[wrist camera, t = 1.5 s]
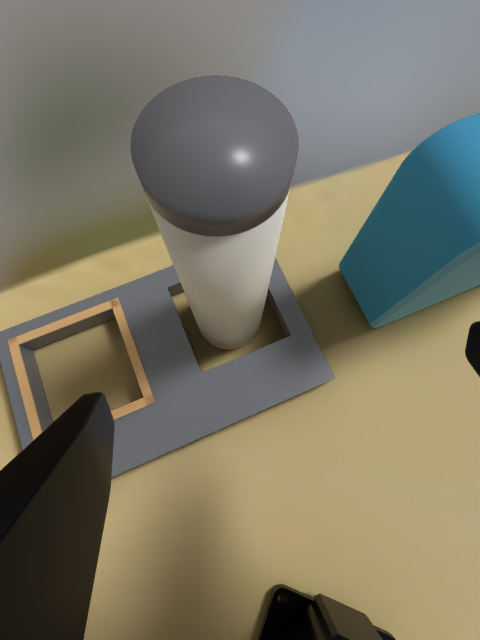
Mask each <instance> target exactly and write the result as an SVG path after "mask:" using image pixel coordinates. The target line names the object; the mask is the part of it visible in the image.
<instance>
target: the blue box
mask: <svg viewBox="0 0 480 640" xmlns="http://www.w3.org/2000/svg"><path fill="white" fill-rule="evenodd" d="M339 268H340V270H341V272H342V274H343V276H344V278H345V280H346V281H347V283H348V285H349V287H350V289H351V291H352V293H353V294H354V296H355V298H356V300H357V302H358V304H359V306H360V308H361V309H362V311H363V313H364V315H365V317H366V319H367V321H368V323H369V324H370V326H371V327H373V328H378V327H381V326H384V325H386V324H389V323H391V322H394V321H396V320H398V319H401V318H403V317H405V316H408V315H410V314H413V313H415V312H417V311H420V310H422V309H424V308H427V307H429V306H431V305H434V304H436V303H439V302H441V301H443V300H446V299H448V298H450V297H453V296H455V295H457V294H460V293H462V292H465V291H467V290H469V289H472V288H474V287H476V286H479V285H480V113H478V114H475V115H472V116H470V117H467V118H464V119H461V120H459V121H456V122H454V123H451V124H449V125H447V126H446V127H444V128H442V129H440V130H439V131H437V132H435V133H434V134H432V135H431V136H430V137H428V138H427V139H426V140H424V141H423V142H422V143H421V144H419V145H418V146H417V147H416V148H415V149H414V150H413V151H412V152H411V153H410V154H409V155H408V156H407V157H406V159H405V160H404V161H403V162H402V164H401V165H400V167H399V169H398V170H397V172H396V173H395V175H394V177H393V178H392V180H391V181H390V183H389V185H388V186H387V188H386V190H385V191H384V193H383V194H382V196H381V198H380V199H379V201H378V202H377V204H376V206H375V207H374V209H373V210H372V212H371V214H370V215H369V217H368V218H367V220H366V222H365V223H364V225H363V227H362V228H361V230H360V231H359V233H358V235H357V236H356V238H355V239H354V241H353V243H352V244H351V246H350V247H349V249H348V251H347V252H346V254H345V255H344V257H343V259H342V260H341V262H340V265H339Z"/></svg>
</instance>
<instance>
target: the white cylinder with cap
mask: <svg viewBox="0 0 480 640" xmlns="http://www.w3.org/2000/svg"><path fill="white" fill-rule="evenodd" d="M297 154H298V134H297V129H296V126H295V123H294V120H293V118H292V116H291V114H290V113H289V111H288V110H287V108H286V107H285V106H284V105H283V104H282V102H281V101H280V100H279V99H278V98H277V97H275V96H274V95H273V94H272V93H270V92H269V91H267V90H266V89H264V88H263V87H261V86H259V85H257V84H255V83H252V82H250V81H247V80H243V79H239V78H236V77H229V76H216V75H215V76H203V77H196V78H192V79H188V80H185V81H182V82H179V83H177V84H174V85H172V86H171V87H169V88H167V89H165V90H164V91H162V92H161V93H159V94H158V95H157V96H155V97H154V98H153V99H152V100H151V101H150V102H149V103H148V104H147V106H146V107H145V108H144V109H143V110H142V112H141V113H140V115H139V117H138V119H137V121H136V123H135V125H134V128H133V131H132V137H131V155H132V161H133V164H134V167H135V169H136V172H137V175H138V177H139V179H140V182H141V185H142V187H143V189H144V192H145V194H146V197H147V200H148V202H149V205H150V207H151V209H152V212H153V215H154V217H155V220H156V222H157V225H158V227H159V230H160V232H161V235H162V237H163V240H164V242H165V245H166V247H167V250H168V252H169V255H170V257H171V260H172V262H173V265H174V267H175V270H176V272H177V275H178V277H179V280H180V282H181V285H182V287H183V290H184V292H185V295H186V297H187V300H188V302H189V305H190V307H191V310H192V312H193V315H194V317H195V320H196V322H197V325H198V328H199V330H200V332H201V334H202V336H203V337H204V338H205V339H206V340H207V341H208V342H209V343H210V344H212V345H214V346H216V347H218V348H221V349H236V348H240V347H242V346H244V345H246V344H248V343H249V342H250V341H251V340H252V339H253V338H254V337H255V336H256V334H257V333H258V330H259V328H260V324H261V320H262V315H263V310H264V306H265V301H266V297H267V292H268V288H269V283H270V278H271V274H272V269H273V265H274V260H275V256H276V251H277V247H278V242H279V237H280V233H281V228H282V224H283V219H284V215H285V210H286V205H287V201H288V196H289V192H290V187H291V183H292V178H293V174H294V169H295V164H296V160H297Z"/></svg>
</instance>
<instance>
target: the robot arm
mask: <svg viewBox="0 0 480 640" xmlns="http://www.w3.org/2000/svg"><path fill="white" fill-rule="evenodd" d="M465 354H466V357H467V360H468V361H469V363H470V364H471V366H472V367H473V368H474V370H475V371H476V373H477V374H478V375H479V377H480V321H478V322H474V323H473V324H472V325H471V326H470V329H469V334H468V339H467V344H466V349H465ZM114 429H115V426H114V419H113V416H112V413H111V411H110V408H109V405H108V403H107V400H106V398H105V396H104V394H103V393H102V392H94V393H89V394H84V395H83V396H81V397H80V398H79V399H78V400H77V401H76V402H75V403H74V404H73V405H71V406H70V407H69V408H68V409H67V410H66V411H65V412H64V413H63V414H62V415H61V416H59V417H58V418H57V419H56V420H55V421H54V422H53V423H52V424H51V425H50V426H49V427H47V428H46V429H45V430H44V431H43V432H42V433H41V434H40V435H39V436H38V437H37V438H36V439H34V440H33V441H32V442H31V443H30V444H29V445H28V446H27V447H26V448H25V449H24V450H22V451H21V452H20V453H19V454H18V455H17V456H16V457H15V458H14V459H13V460H12V461H10V462H9V463H8V464H7V465H6V466H5V467H4V468H3V469H2V470H1V471H0V640H83V639H84V633H85V628H86V622H87V617H88V611H89V606H90V600H91V595H92V589H93V584H94V578H95V573H96V567H97V562H98V556H99V551H100V545H101V540H102V534H103V529H104V523H105V518H106V512H107V507H108V501H109V495H110V489H111V477H112V461H113V445H114ZM281 593H285V594H286V595H287V598H286V600H285V601H279V600H278V596H279V594H281ZM257 640H395V638H394V637H393V635H392V634H390V633H389V632H387V631H385V630H383V629H380V628H378V627H376V626H374V625H372V623H371V622H370V620H369V619H368V617H367V616H366V615H365V614H364V613H362V612H359V611H357V610H355V609H353V608H351V607H348V606H346V605H344V604H342V603H340V602H337V601H335V600H333V599H331V598H329V597H326V596H324V595H322V594H318V595H315V596H314V598H313V597H310V596H308V595H306V594H304V593H302V592H299V591H297V590H295V589H293V588H291V587H288V586H286V585H283V584H280V585H277V586H276V587H275V588H274V590H273V592H272V595H271V598H270V601H269V605H268V608H267V611H266V614H265V617H264V620H263V623H262V626H261V629H260V632H259V636H258V639H257Z"/></svg>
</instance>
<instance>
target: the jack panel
mask: <svg viewBox="0 0 480 640" xmlns="http://www.w3.org/2000/svg"><path fill="white" fill-rule="evenodd" d="M183 291H184V290H183V287H182V285H181V282H180V280H179V277H178V275H177V272H176V270H175V267H174V265H173V266H171V267H168V268H165V269H163V270H160V271H158V272H155V273H152V274H150V275H147V276H144V277H142V278H139V279H137V280H134V281H131V282H129V283H126V284H124V285H121V286H118V287H116V288H113V289H111V290H108V291H105V292H103V293H100V294H97V295H95V296H92V297H90V298H87V299H84V300H82V301H79V302H77V303H74V304H71V305H69V306H66V307H64V308H61V309H58V310H56V311H53V312H50V313H48V314H45V315H43V316H40V317H37V318H35V319H32V320H30V321H27V322H24V323H22V324H19V325H16V326H14V327H11V328H9V329H6V330H3V331H1V332H0V362H1V366H2V370H3V374H4V378H5V382H6V386H7V390H8V394H9V398H10V402H11V406H12V410H13V414H14V418H15V422H16V426H17V430H18V434H19V438H20V442H21V446H22V450H24V449H25V448H26V447H27V446H28V445H29V444H30V443H31V442H32V441H33V440H34V439H36V438H37V437H38V436H39V435H40V434H41V433H42V432H43V431H44V430H45V429H46V428H47V427H49V426H50V425H51V424H52V423H53V420H52V417H51V413H50V409H49V406H48V402H47V399H46V395H45V391H44V388H43V384H42V381H41V377H40V373H39V370H38V366H37V363H36V359H35V356H34V352H33V350H35V349H38V348H40V347H43V346H45V345H48V344H50V343H53V342H55V341H58V340H60V339H63V338H66V337H68V336H71V335H73V334H76V333H78V332H81V331H83V330H86V329H88V328H91V327H94V326H96V325H99V324H101V323H104V322H106V321H109V320H111V319H114V318H116V320H117V323H118V326H119V329H120V332H121V334H122V337H123V340H124V343H125V346H126V349H127V352H128V354H129V357H130V360H131V363H132V366H133V369H134V372H135V375H136V377H137V380H138V383H139V386H140V389H141V392H142V395H143V398H141V399H138V400H136V401H134V402H131V403H129V404H127V405H124V406H122V407H120V408H117V409H115V410H112V411H111V413H112V416H113V419H114V426H115V429H114V445H113V461H112V477H114V476H116V475H119V474H121V473H123V472H125V471H128V470H130V469H132V468H134V467H137V466H139V465H141V464H144V463H146V462H148V461H150V460H153V459H155V458H157V457H159V456H162V455H164V454H166V453H168V452H171V451H173V450H175V449H177V448H180V447H182V446H184V445H186V444H189V443H191V442H193V441H195V440H198V439H200V438H202V437H204V436H207V435H209V434H211V433H213V432H216V431H218V430H220V429H222V428H225V427H227V426H229V425H231V424H234V423H236V422H238V421H240V420H243V419H245V418H247V417H249V416H252V415H254V414H256V413H259V412H261V411H263V410H265V409H268V408H270V407H272V406H274V405H277V404H279V403H281V402H283V401H286V400H288V399H290V398H292V397H295V396H297V395H299V394H301V393H304V392H306V391H308V390H310V389H313V388H315V387H317V386H319V385H322V384H324V383H326V382H328V381H330V380H332V379H334V378H335V377H334V375H333V373H332V371H331V369H330V367H329V365H328V363H327V361H326V359H325V357H324V355H323V353H322V351H321V349H320V346H319V344H318V342H317V340H316V338H315V336H314V334H313V332H312V330H311V328H310V326H309V324H308V322H307V320H306V318H305V316H304V314H303V312H302V310H301V308H300V306H299V304H298V302H297V300H296V298H295V296H294V294H293V292H292V290H291V288H290V286H289V284H288V282H287V280H286V278H285V276H284V274H283V272H282V270H281V268H280V266H279V264H278V262H277V260H276V258H275V260H274V265H273V269H272V274H271V278H270V283H269V288H268V292H267V298H268V300H269V302H270V304H271V306H272V308H273V310H274V313H275V315H276V317H277V319H278V321H279V323H280V325H281V327H282V329H283V331H284V334H285V336H286V338H284V339H281V340H279V341H277V342H274V343H272V344H270V345H267V346H265V347H262V348H260V349H258V350H255V351H253V352H251V353H248V354H246V355H243V356H241V357H239V358H236V359H234V360H232V361H229V362H227V363H225V364H222V365H220V366H217V367H215V368H213V369H210V370H208V371H206V372H203V373H202V371H201V369H200V366H199V364H198V361H197V359H196V356H195V354H194V351H193V349H192V346H191V344H190V341H189V339H188V336H187V334H186V331H185V329H184V326H183V324H182V321H181V319H180V316H179V314H178V311H177V309H176V306H175V304H174V301H173V299H172V296H173V295H175V294H178V293H180V292H183ZM112 477H111V478H112Z"/></svg>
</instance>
